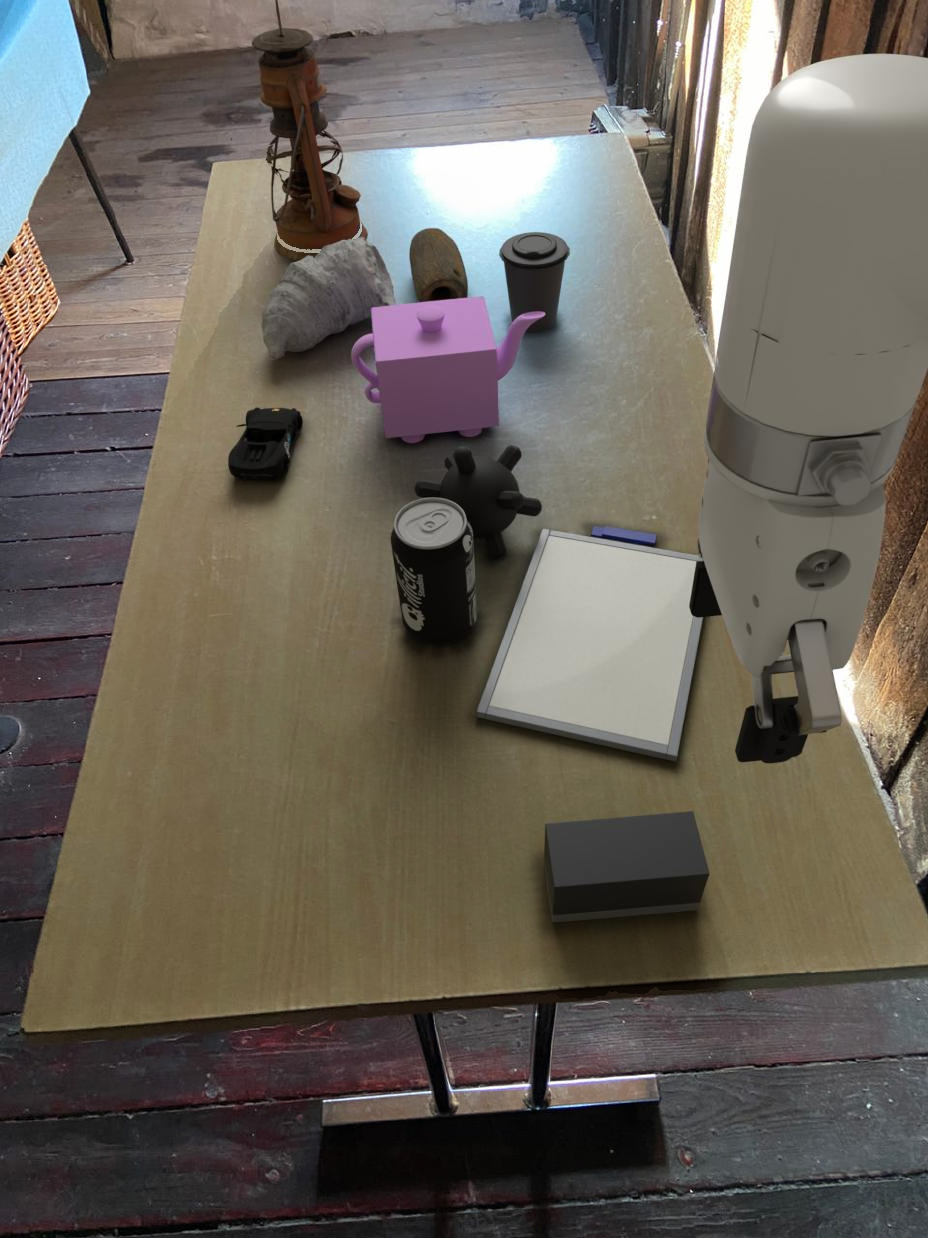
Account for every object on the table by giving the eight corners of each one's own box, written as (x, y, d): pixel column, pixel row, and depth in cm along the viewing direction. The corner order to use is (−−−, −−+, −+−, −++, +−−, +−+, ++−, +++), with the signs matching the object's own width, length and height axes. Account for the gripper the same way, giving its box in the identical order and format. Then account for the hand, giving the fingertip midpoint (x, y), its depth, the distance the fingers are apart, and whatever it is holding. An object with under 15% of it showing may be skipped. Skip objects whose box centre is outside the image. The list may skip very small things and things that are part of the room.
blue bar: (643, 543, 87) (643, 545, 88) (645, 534, 88) (645, 537, 88) (591, 534, 89) (590, 536, 89) (593, 525, 89) (593, 528, 89)
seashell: (269, 376, 109) (250, 297, 101) (266, 310, 118) (249, 233, 111) (406, 358, 110) (398, 278, 102) (392, 294, 119) (384, 217, 112)
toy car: (300, 412, 104) (293, 379, 101) (317, 479, 96) (311, 446, 93) (223, 427, 103) (214, 395, 99) (235, 496, 95) (225, 464, 92)
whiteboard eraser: (682, 849, 67) (693, 810, 63) (697, 910, 64) (709, 874, 60) (543, 861, 67) (545, 823, 63) (552, 923, 64) (554, 887, 60)
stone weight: (479, 323, 114) (477, 271, 109) (422, 331, 113) (418, 280, 108) (455, 263, 124) (452, 213, 119) (403, 271, 123) (398, 221, 118)
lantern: (380, 257, 126) (348, -1, 103) (284, 276, 124) (231, 16, 101) (353, 204, 137) (320, -40, 114) (265, 220, 135) (213, -26, 112)
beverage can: (387, 624, 82) (371, 524, 73) (439, 583, 85) (429, 482, 76) (441, 663, 79) (430, 563, 70) (493, 618, 82) (489, 517, 73)
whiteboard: (712, 564, 85) (714, 557, 85) (676, 762, 72) (677, 756, 71) (542, 534, 89) (542, 527, 88) (476, 717, 75) (476, 711, 75)
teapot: (363, 452, 98) (346, 348, 89) (359, 396, 105) (343, 293, 96) (551, 432, 99) (554, 326, 90) (535, 377, 106) (537, 273, 97)
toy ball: (545, 566, 82) (411, 544, 80) (520, 564, 93) (400, 545, 91) (565, 445, 82) (429, 421, 80) (537, 457, 92) (417, 436, 90)
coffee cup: (518, 346, 110) (518, 266, 103) (489, 313, 115) (487, 235, 108) (579, 328, 112) (583, 248, 105) (548, 296, 117) (549, 218, 110)
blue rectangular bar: (656, 536, 88) (657, 534, 88) (654, 545, 87) (654, 543, 87) (604, 527, 89) (604, 525, 89) (601, 536, 88) (601, 533, 88)
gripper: (996, 559, 32) (868, 814, 44) (826, 294, 43) (764, 558, 56) (774, 582, 32) (711, 830, 44) (664, 312, 43) (638, 571, 56)
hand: (740, 678), depth 50 cm, fingers open, 9 cm apart
